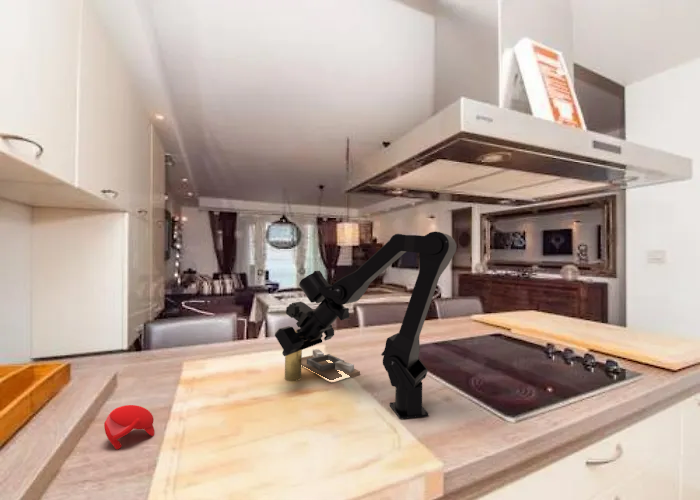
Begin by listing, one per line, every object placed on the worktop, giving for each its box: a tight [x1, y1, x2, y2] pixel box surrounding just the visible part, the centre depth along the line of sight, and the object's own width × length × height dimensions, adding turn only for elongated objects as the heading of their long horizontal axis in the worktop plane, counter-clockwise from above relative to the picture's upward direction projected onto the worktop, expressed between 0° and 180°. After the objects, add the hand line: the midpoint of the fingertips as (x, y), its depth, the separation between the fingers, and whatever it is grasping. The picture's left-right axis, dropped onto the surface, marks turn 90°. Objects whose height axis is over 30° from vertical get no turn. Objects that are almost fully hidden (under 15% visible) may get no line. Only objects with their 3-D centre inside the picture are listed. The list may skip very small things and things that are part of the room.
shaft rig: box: [301, 348, 361, 380], centre depth 93 cm, size 20×10×3 cm, turn 39°
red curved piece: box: [103, 404, 155, 450], centre depth 55 cm, size 8×6×6 cm
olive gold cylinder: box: [284, 329, 303, 382], centre depth 85 cm, size 4×4×12 cm
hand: (289, 352), depth 86 cm, fingers closed on olive gold cylinder, 4 cm apart
